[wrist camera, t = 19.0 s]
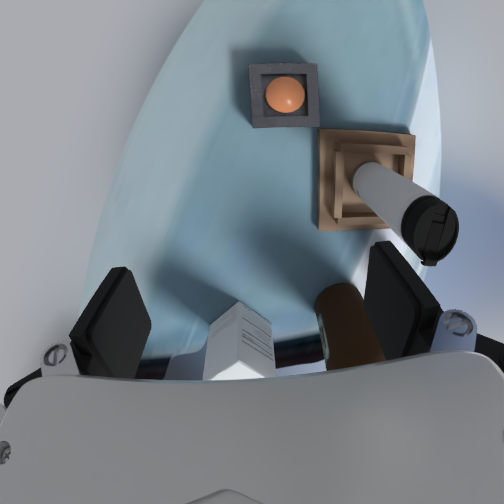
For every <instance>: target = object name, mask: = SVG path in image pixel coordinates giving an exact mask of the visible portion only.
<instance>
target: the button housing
mask: <svg viewBox="0 0 504 504" xmlns="http://www.w3.org/2000/svg"><path fill="white" fill-rule="evenodd" d="M248 66H249V81H250V96H251V111H252V127H253V128H271V127H320V116H319V90H318V71H317V64H308V63H265V64H248ZM279 77H291V78H293V79H295V80H297V81H298V82H299V83H300V84H301V85H302V87H303V89H304V93H305V97H304V101H303V104H302V105H301V106H300V107H299V108H298V109H297V110H295V111H293V112H288V113H284V112H278V111H276V110H274V109H272V108H271V107H270V106H269V105H268V103H267V101H266V98H265V91H266V89H267V87H268V85H269V84H270V83H271V82H272V81H273V80H274V79H276V78H279Z"/></svg>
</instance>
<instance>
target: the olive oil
mask: <svg viewBox="0 0 504 504" xmlns="http://www.w3.org/2000/svg"><path fill="white" fill-rule="evenodd" d="M315 312H316V316H317V321H318V326H319V330H320V336H321V341H322V346H323V352H324V358H325V363H326V369H327V371H330V370H337V369H343V368H349V367H355V366H361V365H367V364H372V363H378V362H383V361H386V359H385V356H384V354H383V351H382V349H381V347H380V344H379V342H378V339H377V337H376V335H375V332H374V330H373V328H372V326H371V323H370V321H369V319H368V317H367V314H366V312H365V310H364V299H363V298H362V296H361V294H360V292H359V291H358V289H357V288H356V287H354V286H353V285H350V284H345V283H341V284H335V285H332V286H330V287H328V288H326V289H325V290H324V291H322V292H321V293H320V295H319V296H318V298H317V299H316V302H315Z"/></svg>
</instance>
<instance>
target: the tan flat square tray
mask: <svg viewBox="0 0 504 504" xmlns="http://www.w3.org/2000/svg"><path fill="white" fill-rule="evenodd" d="M415 137H416V136H415V135H411V134H403V133H393V132H382V131H369V130H352V129H318V211H317V229H318V231H338V230H362V229H388V228H390V227H389V226H388V225H387V224H386V223H385V222H384V221H383V220H382V219H381V218H380V217H379V216H378V215H377V214H376V213H375V212H374V211H373V210H372V209H371V208H370V207H369V206H368V205H367V204H365V203H364V202H363V201H362V200H361V199H360V198H359V197H358V196H357V195H356V194H355V193H354V191H353V189H352V186H351V177H352V174H353V172H354V170H355V168H356V167H357V166H358V165H359V164H361V163H363V162H366V161H374V162H377V163H379V164H381V165H383V166H385V167H387V168H389V169H390V170H392V171H394V172H396V173H398V174H400V175H401V176H403V177H405V178H407V179H408V180H410V181H412V179H413V168H414V155H415Z"/></svg>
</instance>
